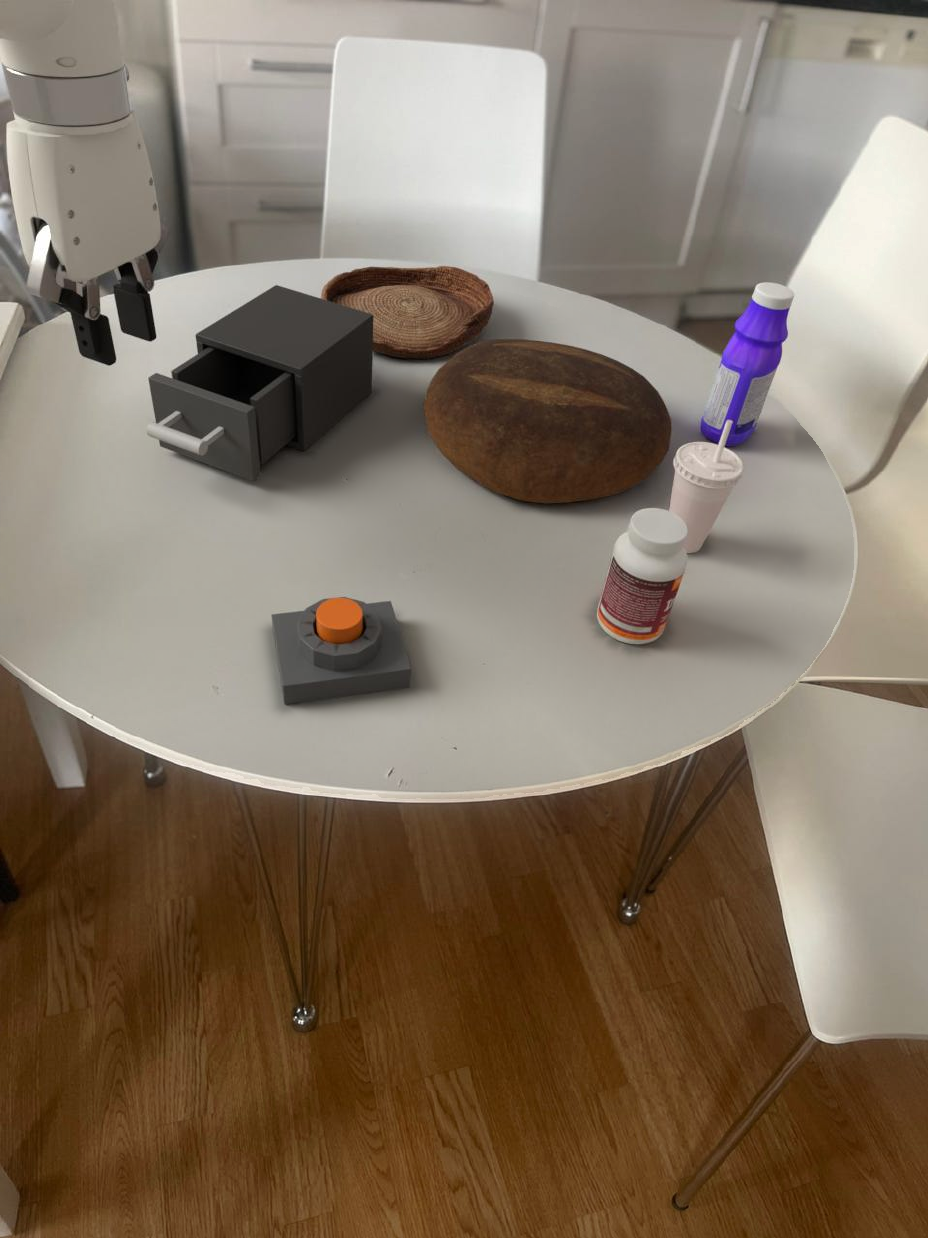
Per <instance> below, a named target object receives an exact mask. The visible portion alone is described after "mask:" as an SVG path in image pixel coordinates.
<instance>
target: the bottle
mask: <svg viewBox="0 0 928 1238" xmlns="http://www.w3.org/2000/svg"><path fill="white" fill-rule="evenodd" d="M794 297H795V292H794V291H793V290H792V289H791V288H790V287H788V286H785V285H784V284H780V283H776V282H767V281H765V282H759V283H758V284H756V286H755V288H754V290H753V293H752V295H751V299H750V302H749V304H748V306H747V308H746V310H745V311H744V313H743V314H741V315H740V317H738V318H737V320H736V321H735V323H734V330H735V332H734V333H733V335H732V336H731V338H730V339H729V341H728V342H727V344H726V346H725V348H724V350H723V353H722V355H721V361H720V363H719V366H718V368H717V373H716V375H715V379H714V382H713V385H712V388H711V391H710V393H709V397H708V400H707V403H706V406H705V409H704V412H703V415H702V416H701V420H700V433H701V434H702V436H704V437H705V438H707V439H708V440H710V441H712V442H713V443H715V444H717V445H719V442H720V439H721V436H722V433H723V430H724V427H725V424H726V421H727V420H731V421H732V422H733V423H732V426H731V429H730V432H729V435H728V437H727V440H726V443H725V446H724V447H735V446H737V445H740V444H742V443H744V442H745V441H747V439H749V438H750V437H751V436H752V434H753V433H754V431H755V429H756V427H757V425H758V421H759V419H760V416H761V413H762V412H763V411H762V410H763V408H764V405H765V401H766V399H767V397H768V394H769V391H770V389H771V386H772V383H773V380H774V378H775V375H776V373H777V370H778V367H779V365H780V363H781V360H782V356H783V343H784V342H785V341H786V340H787V339H788V337H789V331H788V316H789V312H790V309H791V307H792V303H793V300H794Z"/></svg>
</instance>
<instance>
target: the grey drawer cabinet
mask: <svg viewBox="0 0 928 1238" xmlns="http://www.w3.org/2000/svg"><path fill="white" fill-rule="evenodd" d="M195 341H196V342H195V343H196V350H197V354H199V353H200V352H202V351H203V350H205V349H206V348H208V347H210V346H212V347H215V348H218V349H221V350H224V351H227V352H230V353H233V354H236V355H239V356H242V357H245V358H248V359H251V360H254V361H257V362H260V363H263V364H266V365H269V366H272V367H275V368H278V369H281V370H284V371H287V372H290V373H293V374H295V391H296V412H297V433H298V435H297V436H295V437H294V438H293V439H292V440H291V441H289V442H288V443H287V444H286V445H285V446H288V447H291V448H293V449H297V450H299V451H302V452H305V451H306V450H308V449H309V448H310V447H311V446H313V445H314V444H315V443H316V442H317V441H318V440H320V438H322V437H323V435H325V434H326V433H327V432H328V431H330V430H331V429H332V428H333V427H334V426H335V425H336V424H338V423H339V422H340V421H341V420H342V419H343V418H345V417H346V416H347V415H348V414H349V413H350V412H352V410H354V409H355V408H356V407H357V406H358V405H359V404H361V403H362V402H363V401H365V399H367V397H368V396H370V395H371V394H372V393H373V359H374V355H373V354H374V351H373V314H370V313H366V312H363V311H360V310H357V309H353V308H350V307H347V306H344V305H340V304H337V303H334V302H330V301H327V300H324V299H321V297H317V296H314V295H310V294H308V293H304V292H301V291H297V290H294V289H292V288H288V287H285V286H281V285H278V284H275V285H274V286H272V287H271V288H269V289H267V290H265V291H264V292H262V293H261V294H259V295H257V296H256V297H254V298H252V299H251V300H249V301H247V302H246V303H244V304H243V305H241V306H239V307H238V308H236V309H234V310H232V311H231V312H229V313H228V314H226V315H225V316H223V317H222V318H219V319H218V320H217V321H215V322H213V323H212V324H210V325H209V326H207V327H205V328H204V329H202V330H200V331H198V332H197V333H195Z"/></svg>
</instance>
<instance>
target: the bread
mask: <svg viewBox="0 0 928 1238" xmlns="http://www.w3.org/2000/svg"><path fill="white" fill-rule="evenodd" d="M423 410H424V417H425V423H426V429H427V430H426V431H427V432H428V434H429V436H430V438H431V439H432V441H433V442H434V444H435V446H436V447H437V449H438V450H439V452H440V453H441V454H442V455H443V456H444V457H445V458H446V459H447V460H448V461H449V462H450V463H451V464H452V465H453V466H454V467H455V468H456V469H457V470H458V471H460V472H461V473H462V474H464V475H466V476H467V477H469V478H470V479H472V480H473V481H474V482H476V483H478V484H480V485H481V486H483V487H485V488H487V489H489V490H491V491H493V492H494V493H497V494H500V495H503V496H505V497H508V498H512V499H516V500H519V501H523V502H531V503H539V504H559V503H560V504H561V503H562V504H563V503H572V502H580V501H587V500H593V499H599V498H605V497H610V496H613V495H616V494H619V493H621V492H624V491H627V490H630V489H632V488H633V487H635V486H636V485H638V484H639V483H641V482H643V481H644V480H646V478H647V477H649V476H650V475H651V474H652V473H653V472H654V471H656V469H657V468H659V466H660V465H661V464H662V462H663V461H664V460H665V458H666V456H667V454H668V452H669V450H670V444H671V438H672V431H673V429H672V418H671V415H670V413H669V410H668V407H667V406H666V403H665V401H664V399H663V398H662V396H661V394H660V393H659V391H658V389H656V387H654V386H653V384H652V383H651V382H650V381H649V380H648V379H647V378H646V377H645V376H644V375H643V374H641V373H640V372H638V371H636V370H635V369H634V368H632V367H630V366H628V365H626V364H624V363H623V362H620V361H618V360H617V359H614V358H612V357H609V356H607V355H604V354H601V353H599V352H596V351H593V350H589V349H585V348H583V347H582V348H581V347H578V346H573V345H568V344H563V343H557V342H551V341H543V340H533V339H523V338H522V339H521V338H520V339H519V338H497V339H491V340H489V339H488V340H483V341H478V342H476V343H474V344H471V345H469V346H468V347H465V348H464V349H462V350H459V351H458V352H457V353H455V354H454V355H453V356H452V357H451V358H450V359H448V360H447V361H446V362H445V363H444V364H442V366H440V367H439V368H438V370H437V371H436V373H435V374H434V375H433V377H432V379H431V380H430V382H429V384H428V387H427V390H426V393H425V397H424V402H423Z"/></svg>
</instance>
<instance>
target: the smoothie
mask: <svg viewBox="0 0 928 1238" xmlns="http://www.w3.org/2000/svg"><path fill="white" fill-rule="evenodd" d="M732 423H733V422H732V421H731V420H727V421H726V424H725V427H724V430H723V433H722V436H721V439H720V442H719V444H718V443H714V442H707V441H693V442H688V443H685V444H683V445H681V446H680V447H679V448H678V449H677V450H676V453H675V456H674V457H673V461H672V465H673V467H674V475H673V482H672V488H671V496H670V501H669V508H668V511H670V512H672V513H674V514H676V515H677V516H679V517H680V518H681V519H682V520H683V521H684V522H685V524H686V525H687V528H688V533H687V537H686V540H685V545H684V546H683V547H684V548H685V550H686V553H687V554H695V553H697V552H698V551H699V550H701V548H702V547H703V544H704V543H705V540H706V539H707V538H708V535H709V533H710V531H711V529H712V527H713V525H714V524H715V522H716V520H717V518H718V517H719V514H720V513H721V511H722V510H723V507H724V505H725V503H726V502H727V500H728V498H729V496H730V494H731V492H732V490H733V488H734V487H735V486H736V485H738V484H739V483H740V481H741V480H742V478H743V473H744V470H745V466H744V461H742V459H741V458H740V456H738V455H737V453H735V452H734V451H732V450H731V449H729V448H727V447H726V446H725V443H726V440H727V437H728V435H729V432H730V429H731V426H732Z"/></svg>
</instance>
